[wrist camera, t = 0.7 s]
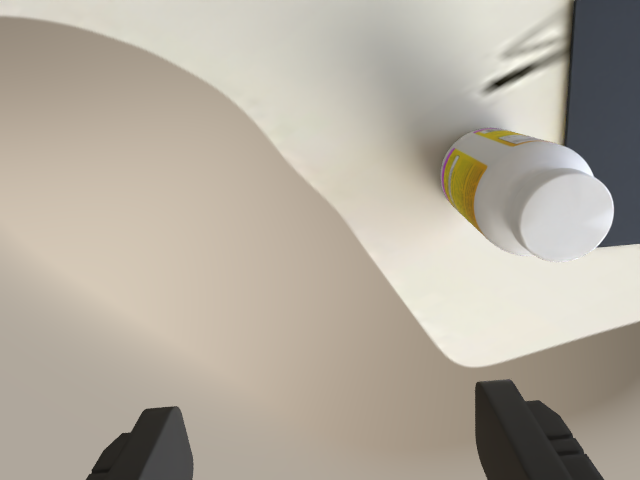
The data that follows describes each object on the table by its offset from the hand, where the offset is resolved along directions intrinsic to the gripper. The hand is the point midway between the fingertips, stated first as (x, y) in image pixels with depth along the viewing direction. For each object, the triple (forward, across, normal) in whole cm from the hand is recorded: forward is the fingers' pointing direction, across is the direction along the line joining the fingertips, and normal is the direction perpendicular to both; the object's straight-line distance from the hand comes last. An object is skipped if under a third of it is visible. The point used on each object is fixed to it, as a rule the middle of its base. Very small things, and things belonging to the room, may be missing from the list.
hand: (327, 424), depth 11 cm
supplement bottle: (+26, -12, 0) cm, 29 cm away
